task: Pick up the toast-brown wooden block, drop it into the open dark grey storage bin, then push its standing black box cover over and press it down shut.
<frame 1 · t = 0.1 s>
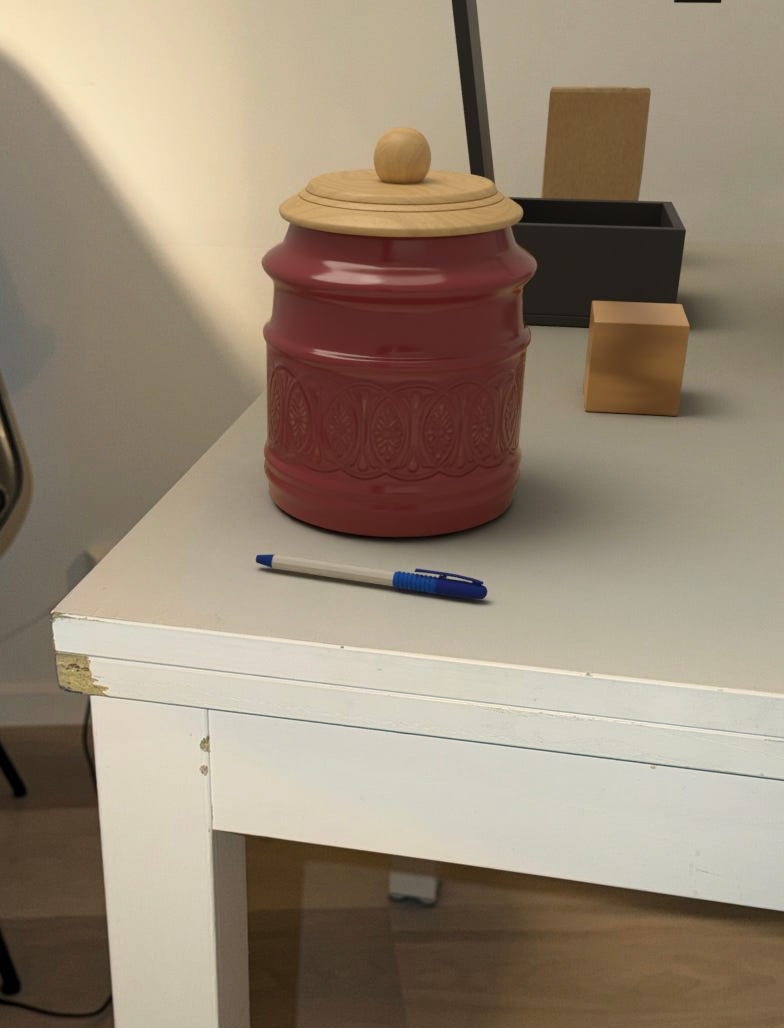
hand: (683, 0, 85), 22 cm above the table, tool pointing down, fingers open, 13 cm apart
kitchen canister: (390, 497, 67), on the table
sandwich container: (582, 252, 124), on the table
dark grey storage bin: (571, 307, 104), on the table
block: (628, 400, 82), on the table
ballpoint pen: (368, 587, 57), on the table
black box cover: (474, 95, 98), point 15 cm above the table, hinge at 100.0°
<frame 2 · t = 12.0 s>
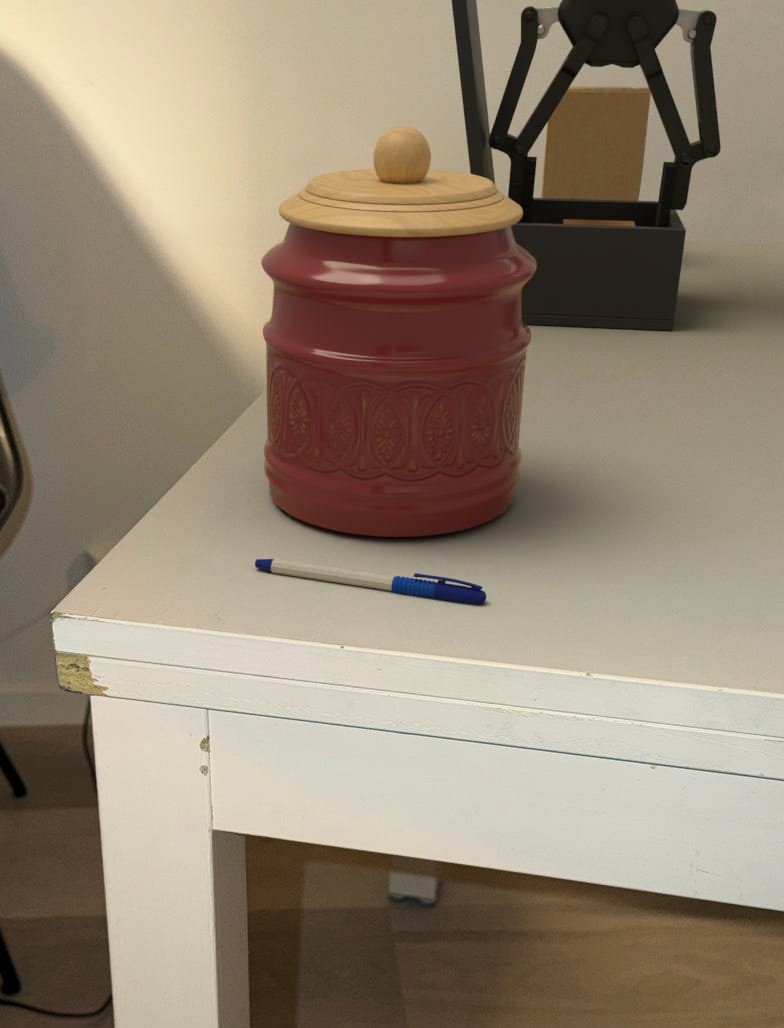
hand: (590, 250, 101), 4 cm above the table, tool pointing down, fingers open, 10 cm apart
block: (592, 298, 103), point 1 cm above the table, touching dark grey storage bin
everything else where it was.
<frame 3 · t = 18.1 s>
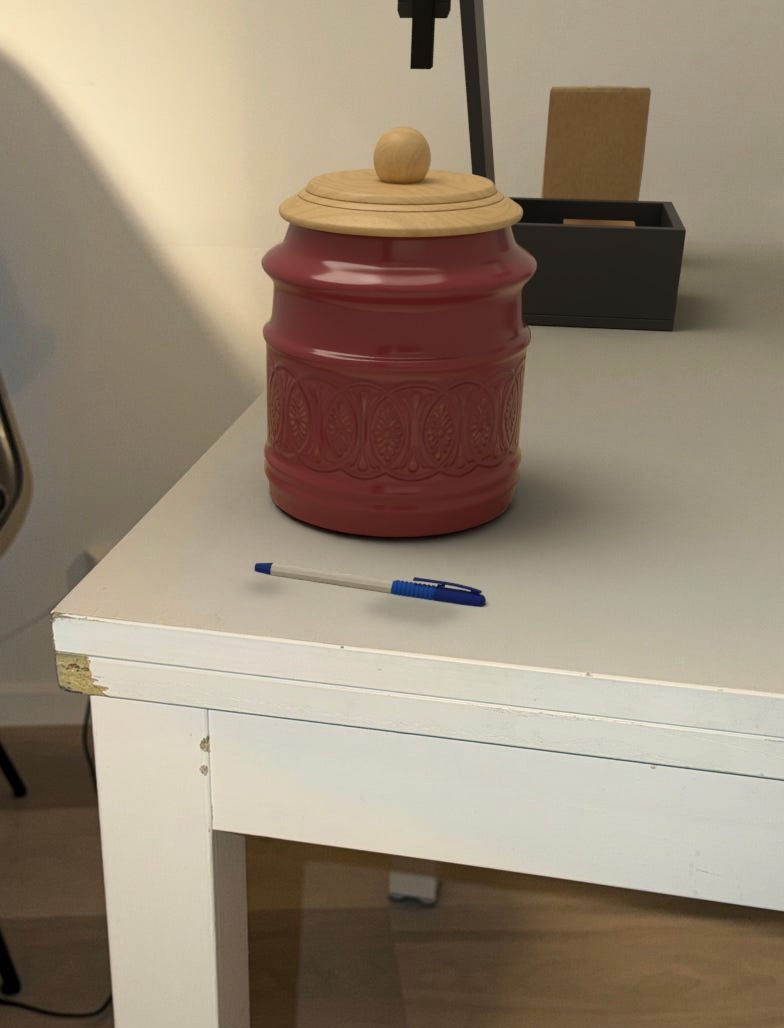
hand: (421, 67, 97), 17 cm above the table, tool pointing down, fingers closed
black box cover: (478, 95, 98), point 15 cm above the table, hinge at 97.9°, touching gripper
everything else where it was.
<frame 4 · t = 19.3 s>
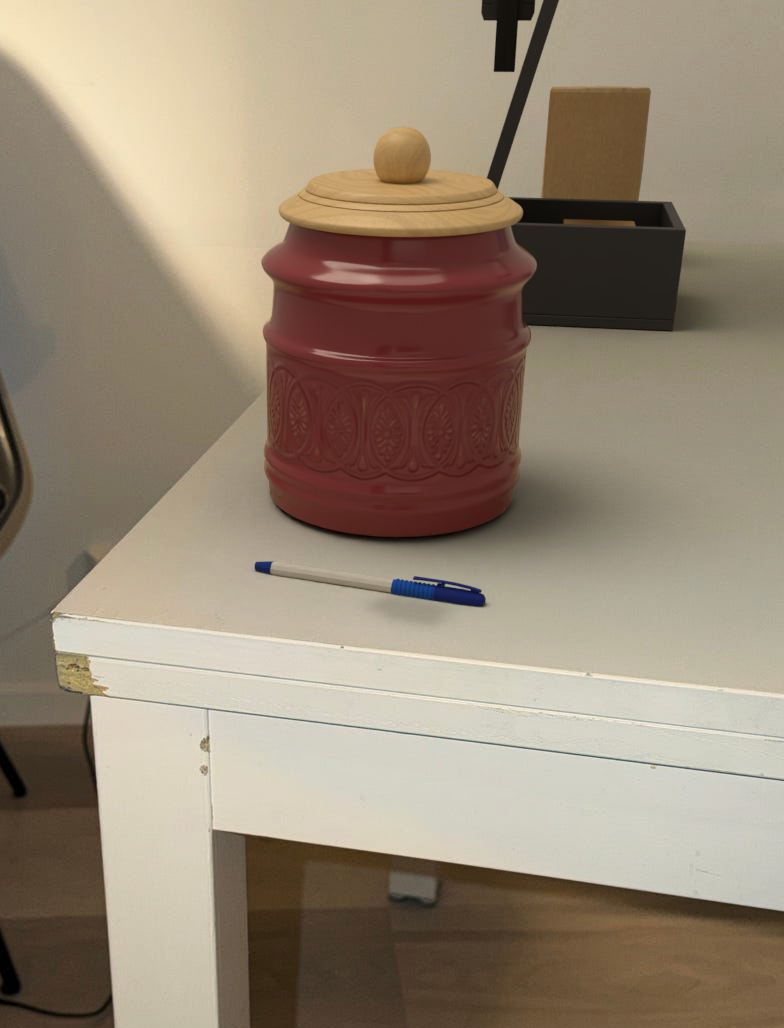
hand: (504, 70, 97), 17 cm above the table, tool pointing down, fingers closed
black box cover: (519, 98, 97), point 15 cm above the table, hinge at 75.1°, touching gripper
everything else where it was.
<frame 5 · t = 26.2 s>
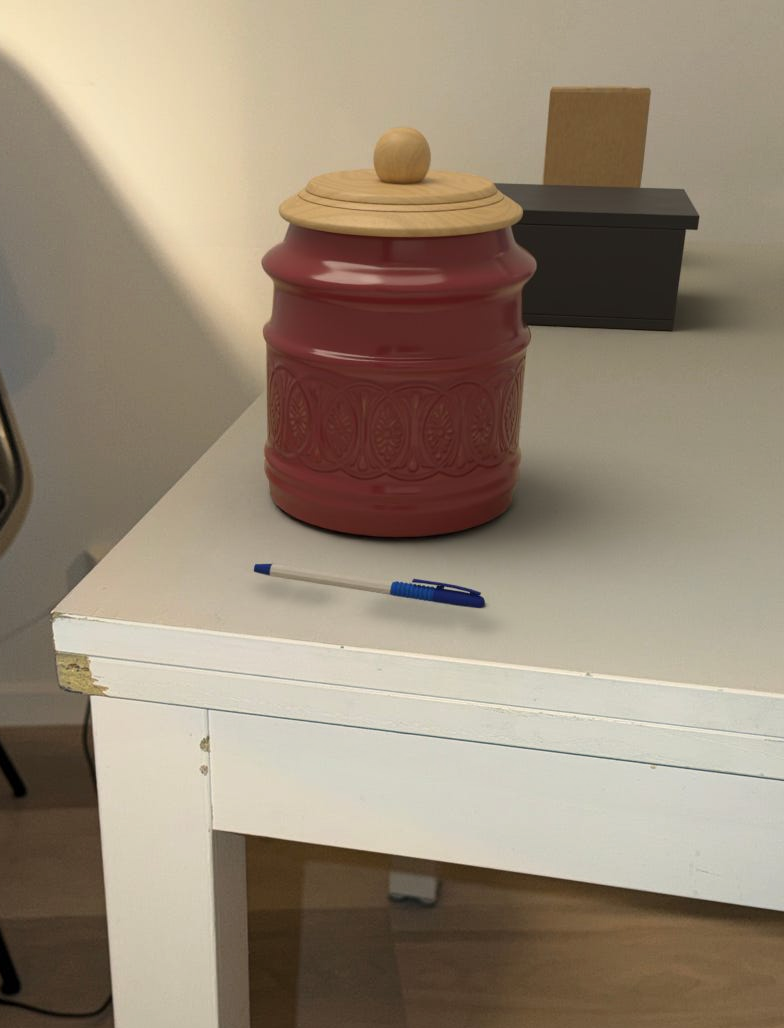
black box cover: (587, 205, 100), point 8 cm above the table, hinge at -0.2°, touching dark grey storage bin
everything else where it was.
at the end: block inside the target area in the dark grey storage bin (1.5 cm from its centre), point 0.8 cm above the dark grey storage bin's base; black box cover at +0° (first picture: +100°) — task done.
